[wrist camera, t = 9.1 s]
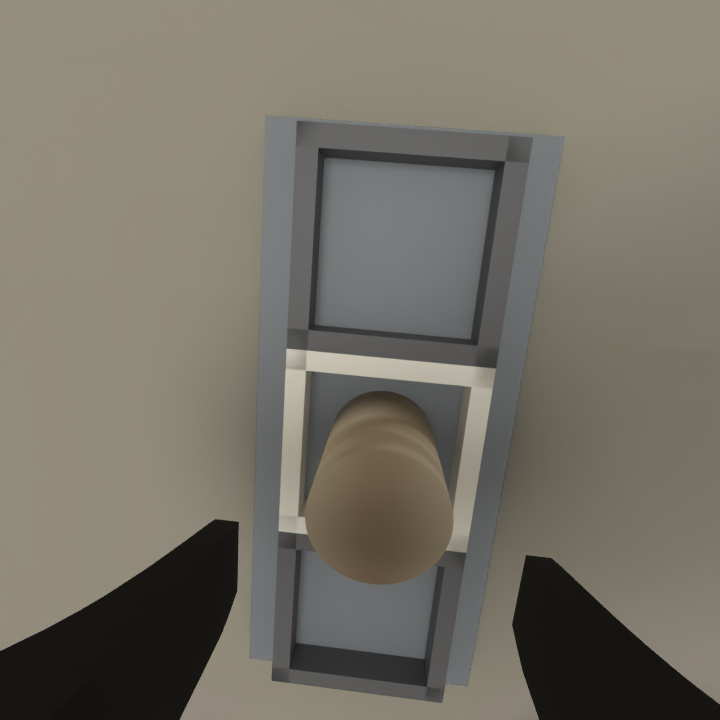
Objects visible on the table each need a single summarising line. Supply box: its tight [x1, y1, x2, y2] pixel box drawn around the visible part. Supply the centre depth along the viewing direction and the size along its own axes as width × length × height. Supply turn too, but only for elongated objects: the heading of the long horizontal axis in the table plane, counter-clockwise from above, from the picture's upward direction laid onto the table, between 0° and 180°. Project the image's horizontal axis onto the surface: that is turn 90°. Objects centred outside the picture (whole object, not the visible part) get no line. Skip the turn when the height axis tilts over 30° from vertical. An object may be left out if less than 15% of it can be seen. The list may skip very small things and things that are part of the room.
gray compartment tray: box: [250, 115, 565, 703], centre depth 18 cm, size 11×25×3 cm, turn 175°
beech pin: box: [305, 391, 454, 585], centre depth 15 cm, size 4×4×6 cm
